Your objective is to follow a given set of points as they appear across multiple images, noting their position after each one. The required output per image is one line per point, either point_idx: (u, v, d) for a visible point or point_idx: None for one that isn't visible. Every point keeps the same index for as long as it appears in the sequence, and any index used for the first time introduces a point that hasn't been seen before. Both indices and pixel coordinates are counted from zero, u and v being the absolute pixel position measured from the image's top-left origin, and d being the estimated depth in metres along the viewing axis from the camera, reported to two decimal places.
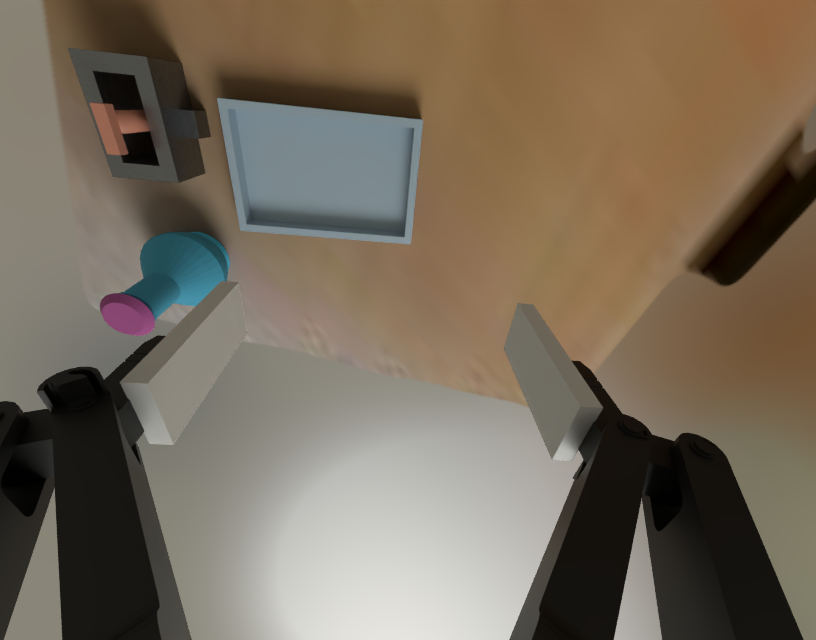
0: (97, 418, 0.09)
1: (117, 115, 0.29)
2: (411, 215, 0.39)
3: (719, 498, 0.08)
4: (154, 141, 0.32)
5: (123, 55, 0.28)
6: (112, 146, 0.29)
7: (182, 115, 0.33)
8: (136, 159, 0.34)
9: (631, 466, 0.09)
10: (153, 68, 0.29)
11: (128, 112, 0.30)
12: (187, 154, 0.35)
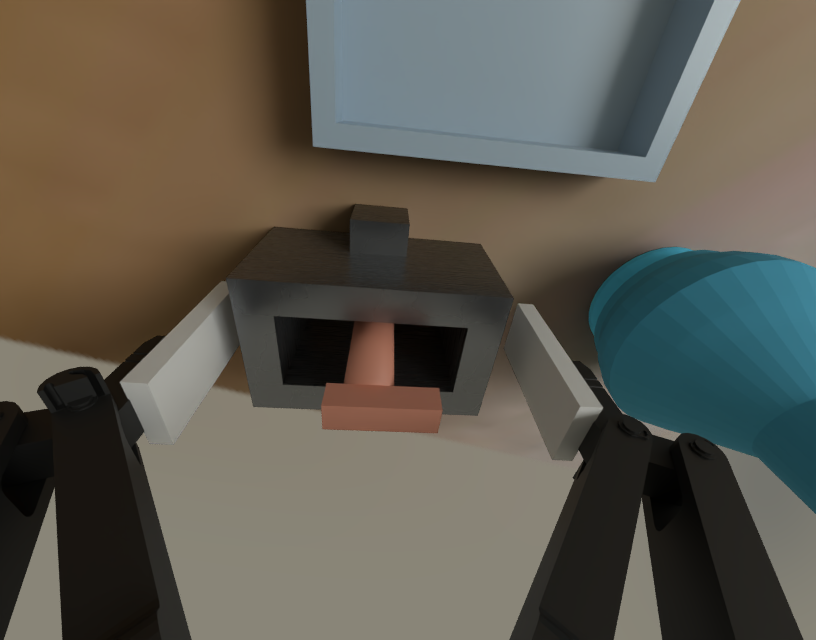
0: (97, 418, 0.09)
1: (351, 381, 0.11)
2: None
3: (719, 498, 0.08)
4: (412, 321, 0.13)
5: (237, 324, 0.12)
6: (420, 418, 0.11)
7: (361, 248, 0.14)
8: (446, 362, 0.16)
9: (631, 466, 0.09)
10: (254, 271, 0.12)
11: (351, 352, 0.13)
12: (442, 261, 0.14)
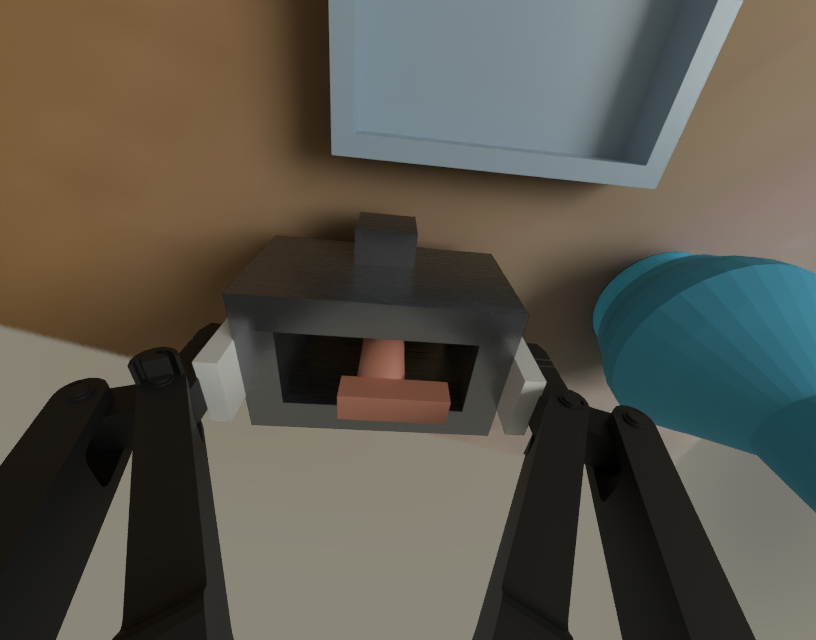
0: (172, 395, 0.09)
1: (365, 374, 0.12)
2: None
3: (651, 463, 0.09)
4: (420, 338, 0.12)
5: (235, 340, 0.12)
6: (430, 410, 0.12)
7: (366, 259, 0.13)
8: (454, 378, 0.15)
9: (573, 436, 0.10)
10: (253, 284, 0.11)
11: (364, 348, 0.14)
12: (451, 274, 0.14)
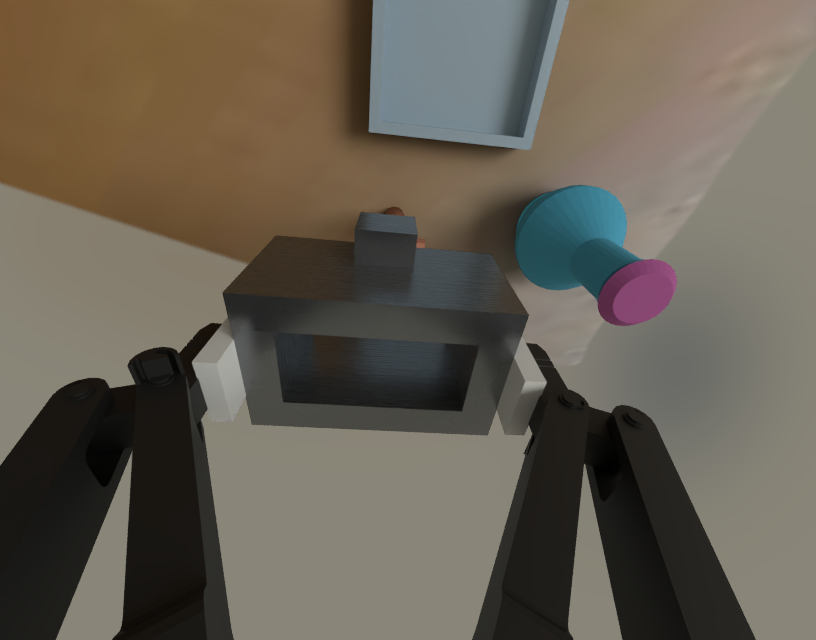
0: (172, 395, 0.09)
1: None
2: None
3: (651, 464, 0.09)
4: (420, 338, 0.12)
5: (235, 340, 0.12)
6: None
7: (366, 259, 0.13)
8: (454, 378, 0.15)
9: (573, 436, 0.10)
10: (253, 284, 0.11)
11: None
12: (451, 273, 0.14)
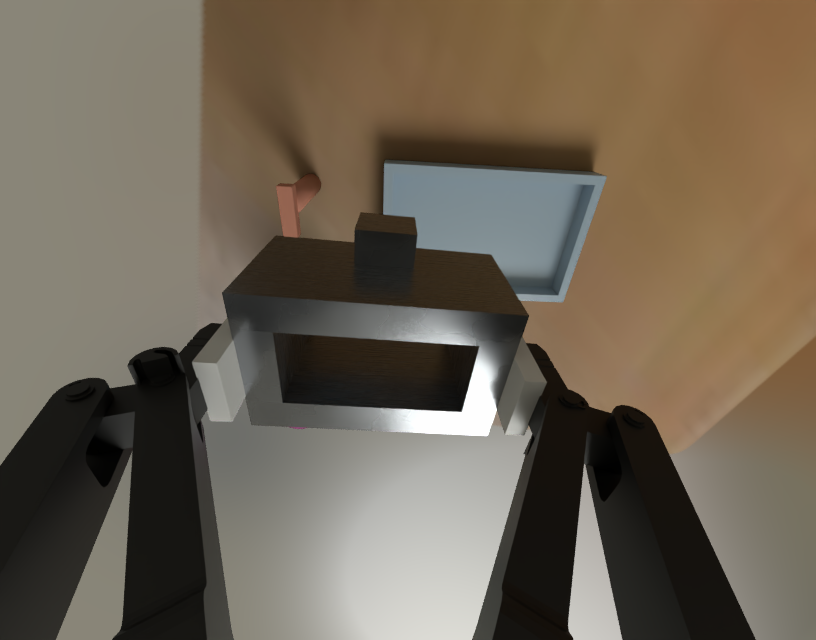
0: (172, 395, 0.09)
1: (297, 195, 0.26)
2: (570, 273, 0.35)
3: (652, 464, 0.09)
4: (420, 338, 0.12)
5: (235, 340, 0.12)
6: (291, 229, 0.26)
7: (366, 259, 0.13)
8: (454, 378, 0.15)
9: (573, 436, 0.10)
10: (253, 285, 0.11)
11: (300, 188, 0.27)
12: (451, 274, 0.14)
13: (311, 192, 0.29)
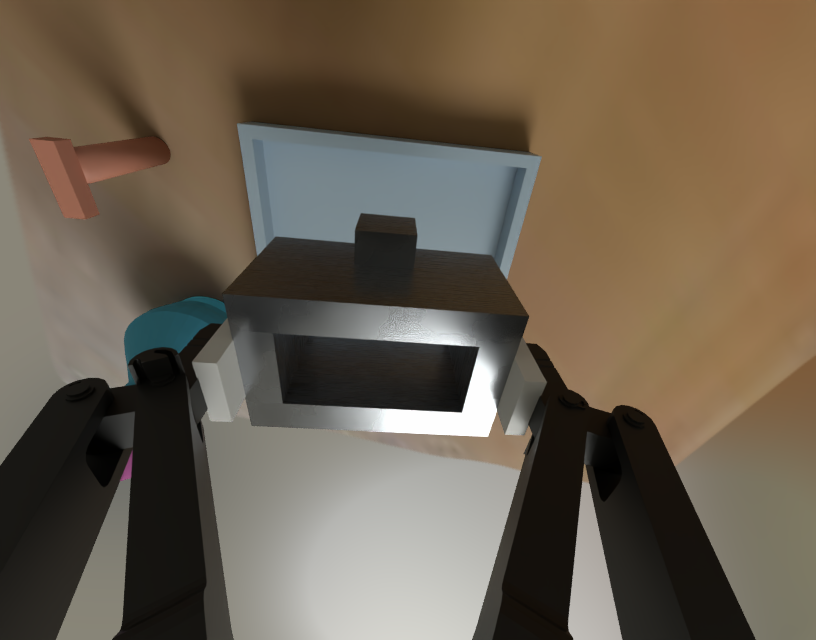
0: (172, 395, 0.09)
1: (79, 156, 0.18)
2: None
3: (651, 464, 0.09)
4: (420, 339, 0.12)
5: (235, 341, 0.12)
6: (72, 206, 0.18)
7: (366, 260, 0.13)
8: (454, 379, 0.15)
9: (573, 436, 0.10)
10: (253, 286, 0.11)
11: (99, 148, 0.19)
12: (451, 275, 0.14)
13: (131, 158, 0.21)
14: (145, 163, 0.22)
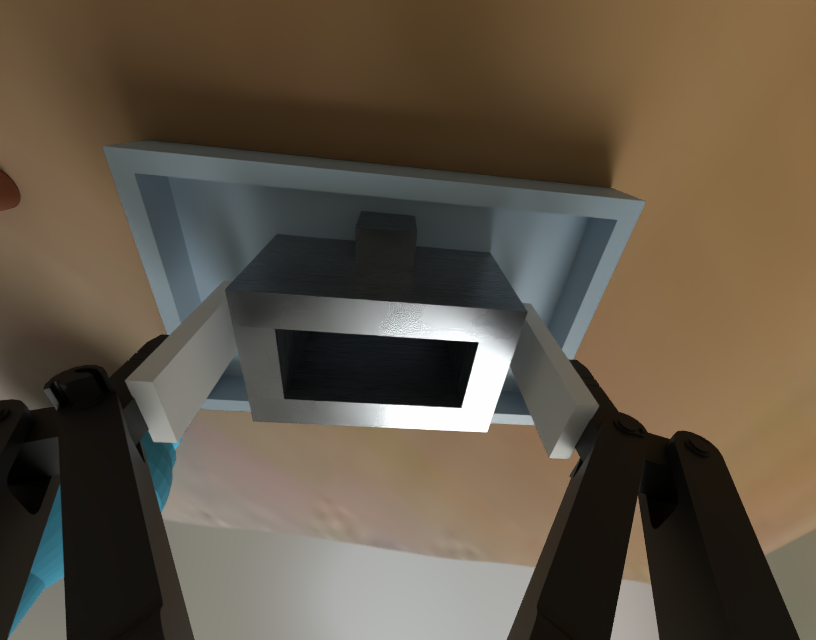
0: (102, 416, 0.09)
1: None
2: None
3: (714, 495, 0.08)
4: (420, 334, 0.12)
5: (237, 336, 0.12)
6: None
7: (367, 257, 0.14)
8: (453, 375, 0.16)
9: (627, 464, 0.09)
10: (255, 282, 0.11)
11: None
12: (450, 271, 0.14)
13: None
14: None
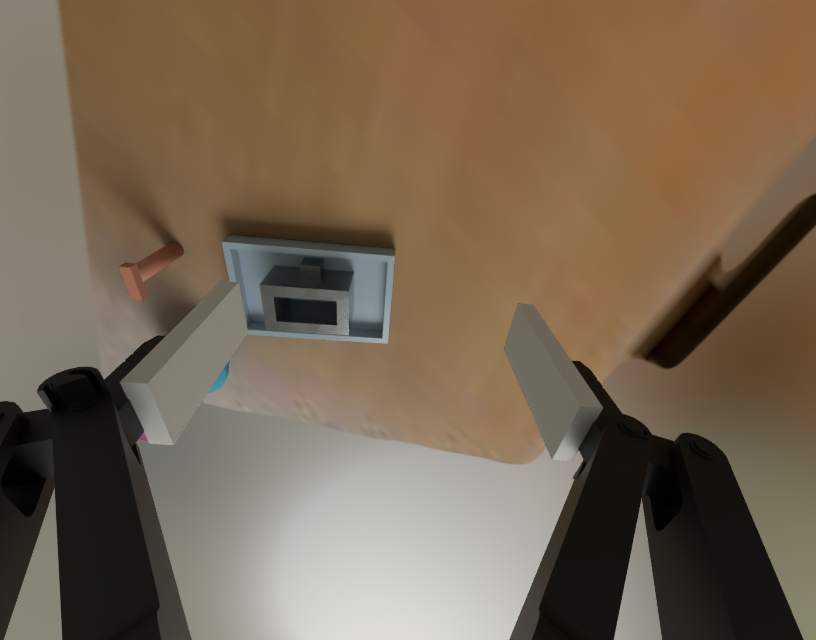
0: (97, 418, 0.09)
1: (140, 270, 0.35)
2: (387, 322, 0.45)
3: (719, 498, 0.08)
4: (318, 298, 0.39)
5: (262, 299, 0.39)
6: (136, 295, 0.35)
7: (304, 274, 0.41)
8: None
9: (631, 466, 0.09)
10: (267, 282, 0.38)
11: (148, 262, 0.36)
12: (332, 279, 0.41)
13: (163, 262, 0.38)
14: (170, 261, 0.40)
